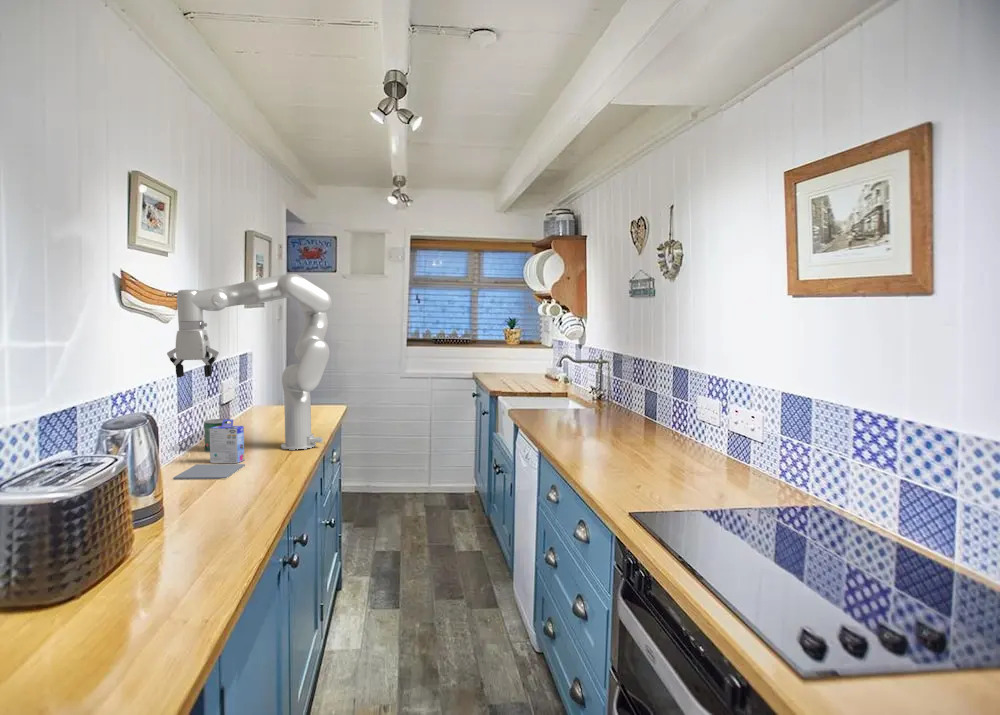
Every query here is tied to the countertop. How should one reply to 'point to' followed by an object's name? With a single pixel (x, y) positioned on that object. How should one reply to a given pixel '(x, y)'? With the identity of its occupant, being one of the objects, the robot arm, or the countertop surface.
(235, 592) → the countertop surface
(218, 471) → the mat
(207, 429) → the canned tomato
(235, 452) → the ink cartridge box
